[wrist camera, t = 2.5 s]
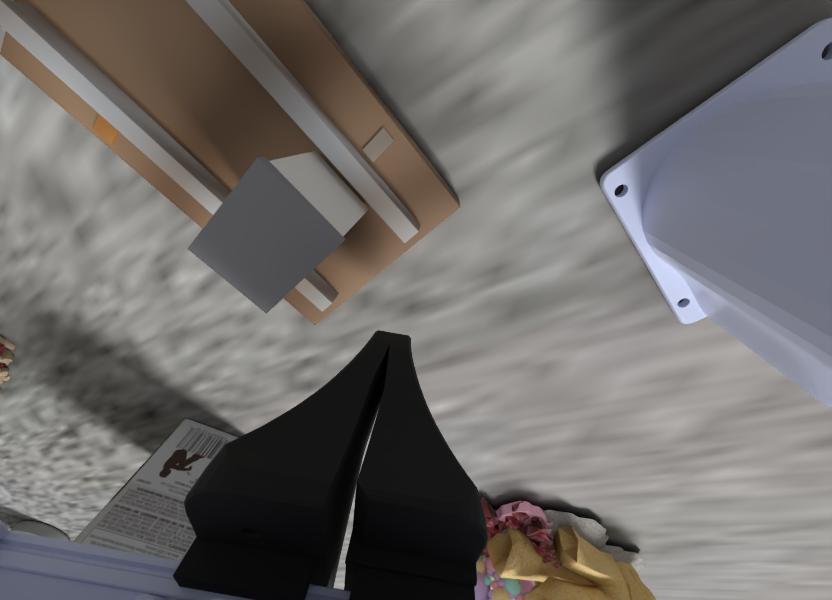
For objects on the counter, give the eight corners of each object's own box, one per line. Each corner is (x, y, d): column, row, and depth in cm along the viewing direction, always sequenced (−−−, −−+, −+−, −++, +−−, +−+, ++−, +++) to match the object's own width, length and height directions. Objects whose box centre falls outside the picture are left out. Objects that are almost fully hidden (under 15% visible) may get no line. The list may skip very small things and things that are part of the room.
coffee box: (243, 493, 30) (67, 810, 16) (177, 471, 29) (-69, 786, 15) (260, 442, 26) (37, 819, 12) (182, 414, 25) (-157, 787, 11)
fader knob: (372, 209, 13) (341, 243, 10) (311, 266, 15) (266, 313, 11) (315, 146, 12) (257, 157, 9) (257, 214, 14) (187, 248, 10)
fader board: (459, 199, 14) (460, 213, 12) (324, 310, 18) (307, 335, 16) (135, -218, 9) (41, -319, 7) (43, 60, 13) (-36, 48, 11)
